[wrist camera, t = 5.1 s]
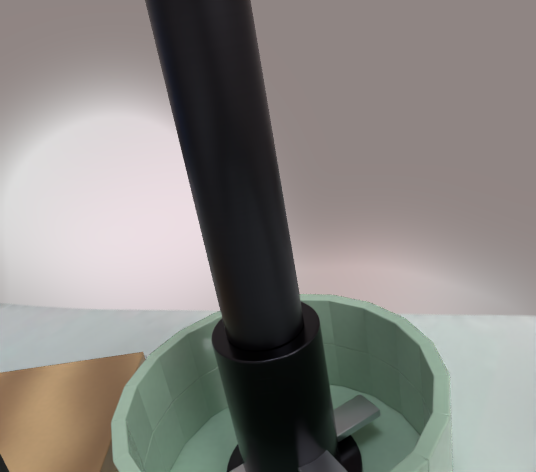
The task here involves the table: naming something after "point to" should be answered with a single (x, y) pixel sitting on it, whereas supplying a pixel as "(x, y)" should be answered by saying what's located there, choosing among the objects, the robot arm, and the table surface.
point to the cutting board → (62, 414)
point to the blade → (250, 246)
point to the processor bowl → (341, 386)
